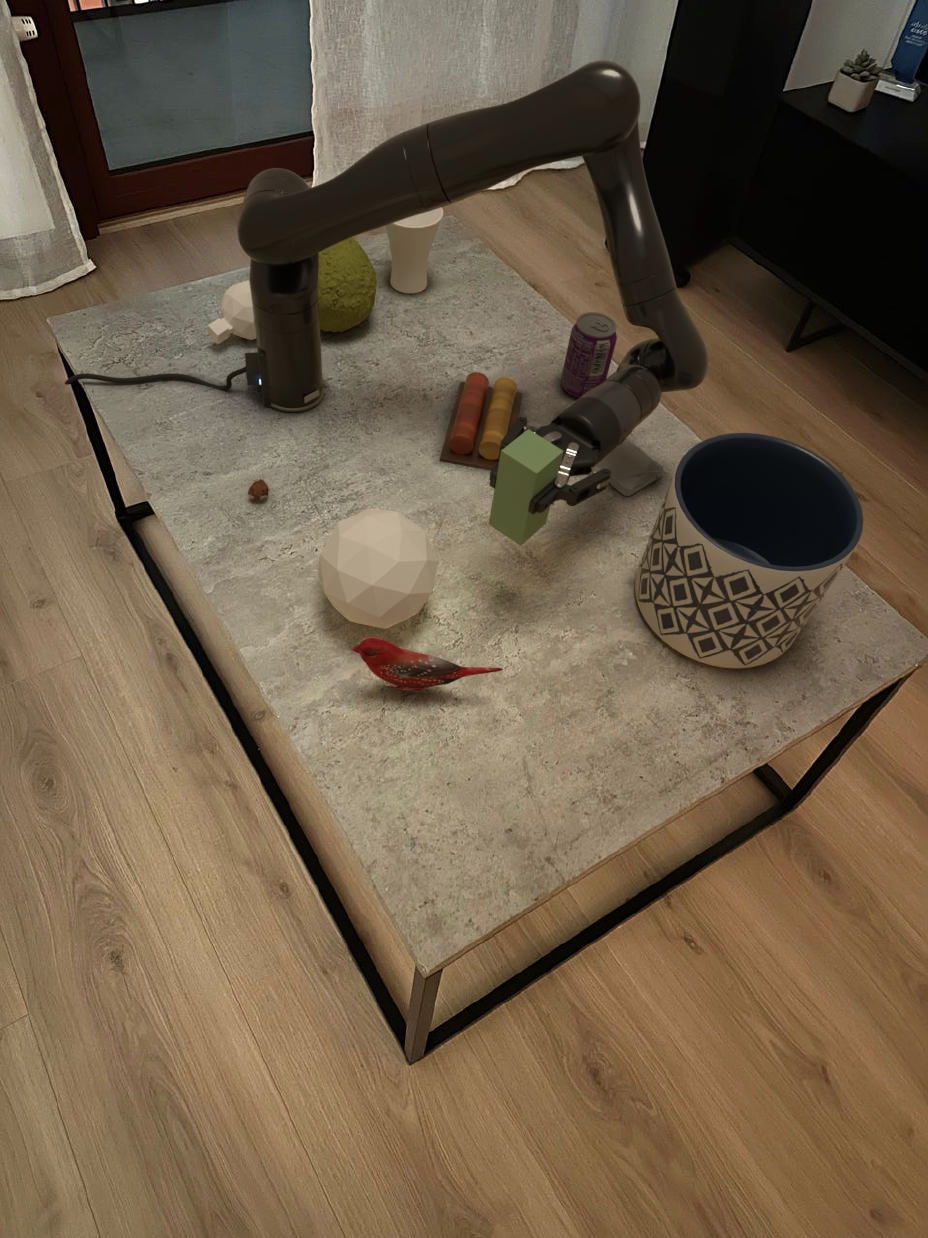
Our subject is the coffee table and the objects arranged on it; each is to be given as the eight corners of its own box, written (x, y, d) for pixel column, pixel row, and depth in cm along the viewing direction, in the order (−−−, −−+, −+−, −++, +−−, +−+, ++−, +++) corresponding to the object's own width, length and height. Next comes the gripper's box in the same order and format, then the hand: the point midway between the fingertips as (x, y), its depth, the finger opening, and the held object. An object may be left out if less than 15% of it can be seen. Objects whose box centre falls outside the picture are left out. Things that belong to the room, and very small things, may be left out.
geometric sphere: (378, 602, 123) (412, 499, 118) (436, 653, 112) (476, 542, 108) (284, 593, 113) (318, 481, 109) (338, 647, 103) (378, 525, 98)
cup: (372, 294, 156) (373, 220, 145) (386, 261, 162) (387, 188, 151) (432, 305, 155) (437, 231, 145) (443, 271, 162) (448, 199, 151)
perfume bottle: (252, 295, 150) (195, 332, 145) (253, 258, 141) (192, 295, 137) (288, 331, 149) (232, 369, 144) (291, 296, 140) (231, 335, 136)
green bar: (520, 546, 106) (536, 473, 97) (488, 524, 108) (500, 450, 98) (545, 524, 109) (563, 450, 99) (513, 502, 111) (528, 428, 101)
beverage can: (609, 382, 147) (625, 319, 137) (594, 407, 143) (610, 344, 133) (569, 368, 148) (582, 304, 139) (553, 392, 144) (566, 328, 135)
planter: (763, 702, 112) (830, 603, 96) (604, 617, 118) (642, 511, 102) (820, 588, 124) (888, 483, 108) (673, 516, 130) (717, 407, 114)
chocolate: (254, 507, 124) (251, 487, 121) (246, 497, 125) (243, 477, 122) (273, 499, 125) (271, 479, 122) (266, 489, 126) (263, 469, 123)
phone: (590, 416, 142) (591, 410, 140) (664, 475, 135) (666, 469, 134) (552, 436, 138) (554, 430, 137) (627, 498, 131) (629, 492, 130)
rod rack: (506, 473, 132) (509, 451, 129) (439, 460, 133) (441, 439, 129) (522, 395, 143) (525, 374, 140) (460, 384, 143) (462, 362, 140)
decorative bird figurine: (352, 676, 109) (351, 628, 101) (497, 686, 110) (507, 640, 102) (350, 696, 108) (348, 649, 99) (497, 707, 108) (507, 661, 100)
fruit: (262, 319, 149) (268, 220, 143) (332, 321, 159) (340, 229, 153) (320, 338, 139) (328, 233, 133) (391, 340, 149) (402, 242, 143)
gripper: (555, 371, 109) (466, 438, 101) (653, 429, 105) (568, 504, 96) (545, 418, 115) (460, 486, 107) (637, 475, 111) (556, 550, 102)
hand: (512, 494), depth 102 cm, fingers closed on green bar, 5 cm apart
